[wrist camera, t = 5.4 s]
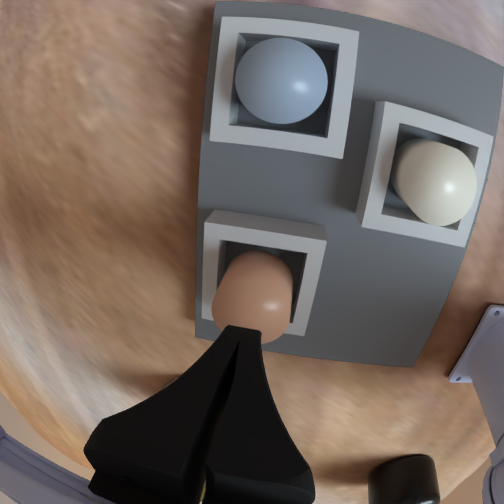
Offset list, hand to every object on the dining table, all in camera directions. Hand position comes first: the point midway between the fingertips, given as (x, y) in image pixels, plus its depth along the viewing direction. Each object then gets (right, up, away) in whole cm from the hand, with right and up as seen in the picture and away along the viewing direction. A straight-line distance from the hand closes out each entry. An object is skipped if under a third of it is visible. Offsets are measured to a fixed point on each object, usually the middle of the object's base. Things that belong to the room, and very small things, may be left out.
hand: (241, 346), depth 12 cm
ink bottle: (+19, -24, +18) cm, 35 cm away
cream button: (+9, +8, +2) cm, 12 cm away
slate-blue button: (+2, +12, +1) cm, 12 cm away
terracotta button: (+1, +2, +5) cm, 5 cm away
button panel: (+6, +7, +5) cm, 10 cm away
